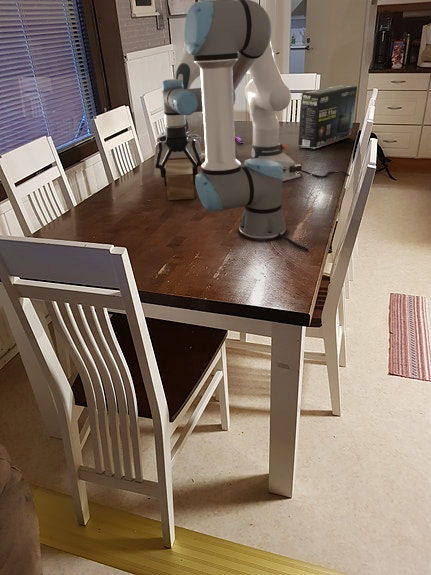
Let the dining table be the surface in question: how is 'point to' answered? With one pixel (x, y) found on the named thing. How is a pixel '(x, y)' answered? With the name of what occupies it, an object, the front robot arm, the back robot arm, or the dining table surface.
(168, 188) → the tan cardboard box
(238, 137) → the handgun
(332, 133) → the router box
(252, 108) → the back robot arm
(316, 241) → the dining table surface
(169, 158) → the drawer
